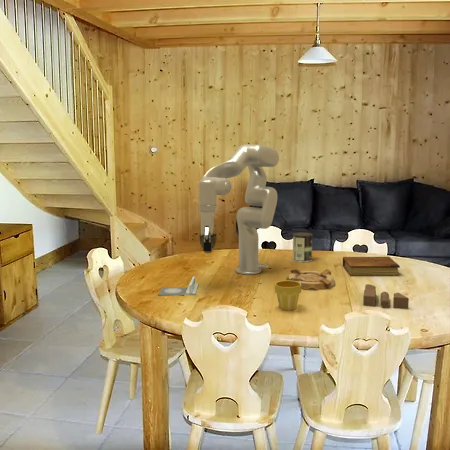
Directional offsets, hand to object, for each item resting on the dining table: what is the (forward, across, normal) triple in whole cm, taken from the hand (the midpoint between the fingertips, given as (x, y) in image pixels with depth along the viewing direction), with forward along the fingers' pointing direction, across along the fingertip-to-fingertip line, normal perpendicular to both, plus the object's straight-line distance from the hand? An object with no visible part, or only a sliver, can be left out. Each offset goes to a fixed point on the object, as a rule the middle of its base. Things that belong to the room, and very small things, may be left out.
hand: (208, 248), depth 239 cm
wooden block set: (+18, +16, +73) cm, 77 cm away
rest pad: (+18, +5, -15) cm, 24 cm away
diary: (+18, -30, +77) cm, 84 cm away
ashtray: (+18, -10, +45) cm, 50 cm away
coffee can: (+18, -52, +46) cm, 71 cm away
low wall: (+18, +2, -7) cm, 19 cm away
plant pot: (+18, +25, +33) cm, 45 cm away
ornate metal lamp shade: (+2, 0, 0) cm, 2 cm away
